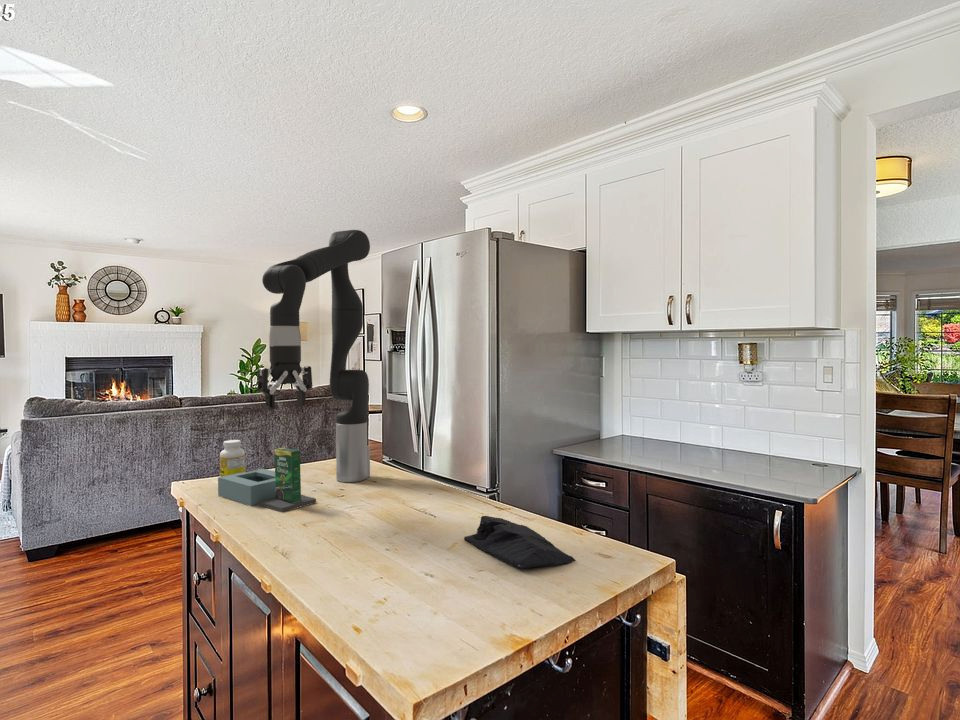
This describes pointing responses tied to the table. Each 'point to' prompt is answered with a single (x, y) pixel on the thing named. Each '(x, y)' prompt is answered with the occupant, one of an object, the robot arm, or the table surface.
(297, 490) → the coffee box
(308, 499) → the rubber mat
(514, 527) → the black cloth
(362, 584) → the table surface
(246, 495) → the box
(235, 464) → the supplement bottle
